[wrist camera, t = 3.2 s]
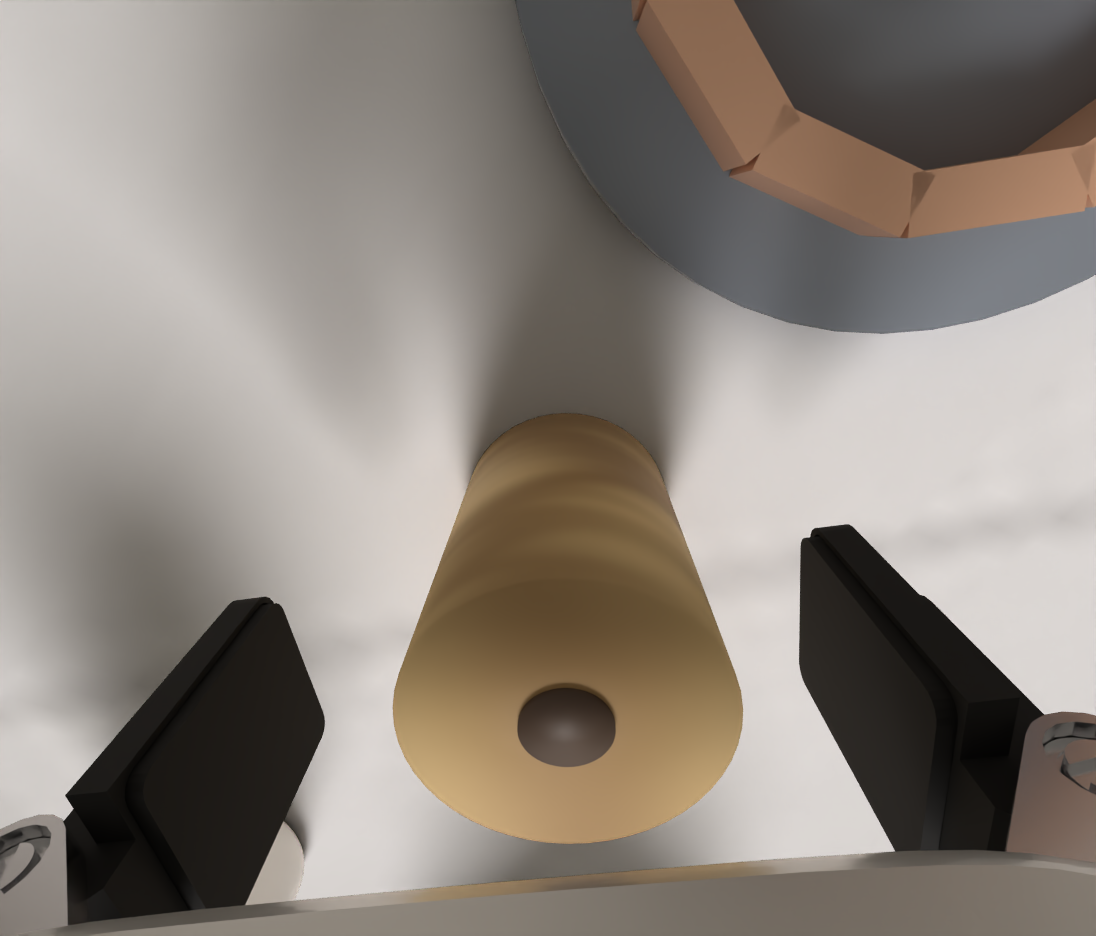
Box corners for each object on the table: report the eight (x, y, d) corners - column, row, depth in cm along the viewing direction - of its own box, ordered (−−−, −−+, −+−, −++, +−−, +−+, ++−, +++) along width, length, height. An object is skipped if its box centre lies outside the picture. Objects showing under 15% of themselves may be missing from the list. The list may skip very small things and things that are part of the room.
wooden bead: (657, 399, 14) (740, 560, 7) (672, 579, 16) (748, 837, 9) (448, 428, 14) (349, 605, 8) (487, 600, 16) (434, 860, 10)
